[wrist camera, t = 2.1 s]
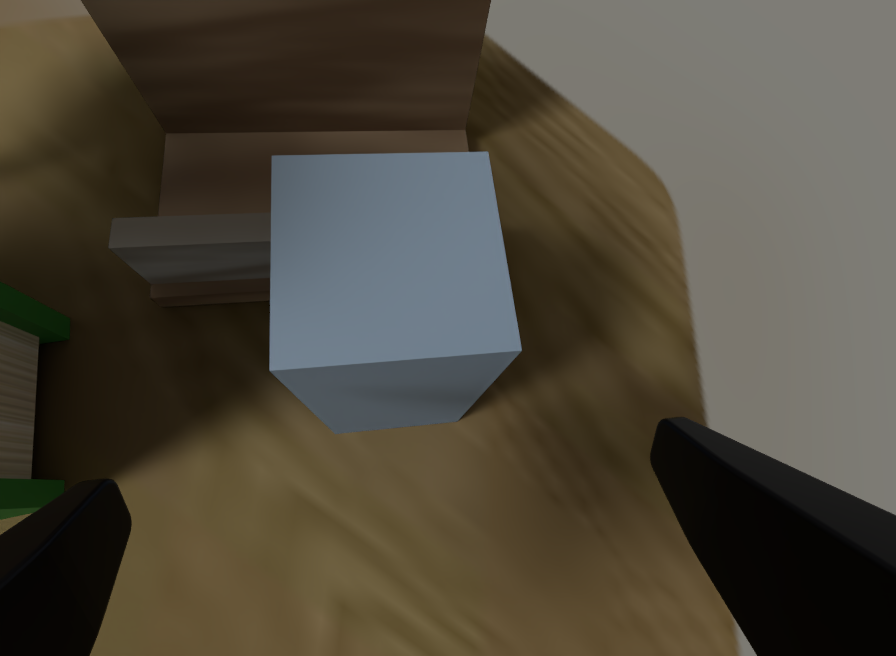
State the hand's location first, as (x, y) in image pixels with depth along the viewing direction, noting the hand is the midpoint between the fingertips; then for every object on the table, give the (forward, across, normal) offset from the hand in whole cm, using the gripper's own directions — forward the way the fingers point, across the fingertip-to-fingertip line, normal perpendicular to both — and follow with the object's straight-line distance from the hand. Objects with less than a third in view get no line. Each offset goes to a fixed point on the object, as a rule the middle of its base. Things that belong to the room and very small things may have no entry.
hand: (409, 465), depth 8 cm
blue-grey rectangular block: (+11, 0, +5) cm, 12 cm away
